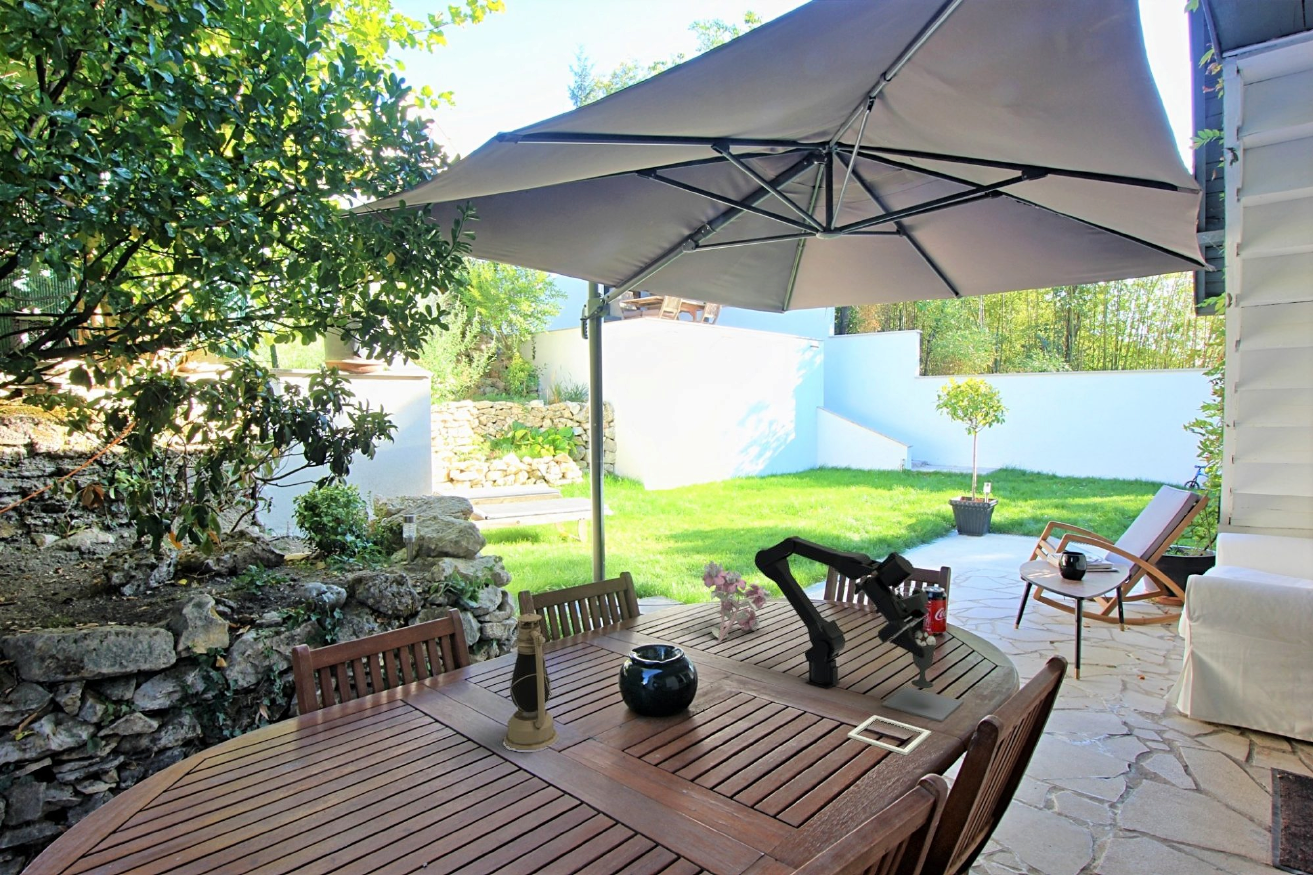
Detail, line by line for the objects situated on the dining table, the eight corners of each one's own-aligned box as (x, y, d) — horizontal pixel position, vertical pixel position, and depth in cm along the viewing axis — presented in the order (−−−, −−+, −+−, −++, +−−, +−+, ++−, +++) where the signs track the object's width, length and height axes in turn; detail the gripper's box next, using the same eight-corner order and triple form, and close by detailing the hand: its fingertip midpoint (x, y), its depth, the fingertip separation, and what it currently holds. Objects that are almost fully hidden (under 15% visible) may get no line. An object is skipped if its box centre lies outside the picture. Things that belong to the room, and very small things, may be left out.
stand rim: (847, 736, 157) (847, 734, 157) (874, 717, 167) (874, 714, 167) (906, 755, 148) (906, 752, 148) (931, 733, 158) (931, 731, 158)
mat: (882, 705, 173) (882, 703, 173) (906, 688, 184) (906, 686, 184) (941, 722, 164) (941, 719, 164) (963, 703, 174) (963, 701, 174)
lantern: (570, 746, 153) (568, 605, 152) (515, 760, 147) (513, 613, 146) (544, 721, 166) (542, 590, 165) (493, 733, 160) (491, 597, 159)
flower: (776, 644, 214) (778, 561, 224) (699, 637, 214) (705, 554, 224) (765, 653, 232) (767, 576, 242) (694, 646, 233) (699, 569, 243)
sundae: (943, 686, 170) (945, 623, 169) (922, 691, 167) (923, 626, 166) (922, 677, 176) (923, 615, 175) (901, 681, 173) (902, 619, 172)
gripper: (892, 586, 166) (940, 644, 159) (921, 572, 180) (967, 625, 174) (858, 614, 171) (904, 671, 165) (890, 598, 185) (933, 650, 179)
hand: (928, 653), depth 170 cm, fingers closed on sundae, 6 cm apart
